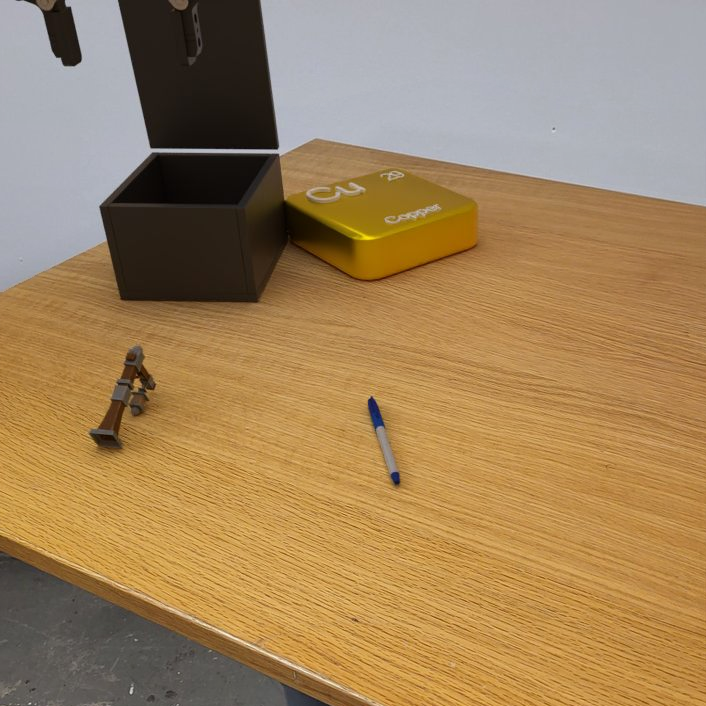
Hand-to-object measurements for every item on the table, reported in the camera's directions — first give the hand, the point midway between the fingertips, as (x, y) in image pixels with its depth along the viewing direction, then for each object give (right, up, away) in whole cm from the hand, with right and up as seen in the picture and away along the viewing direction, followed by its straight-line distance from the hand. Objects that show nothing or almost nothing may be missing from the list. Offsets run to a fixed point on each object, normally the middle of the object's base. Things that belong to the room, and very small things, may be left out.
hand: (130, 63), depth 68 cm
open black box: (0, -11, +22) cm, 24 cm away
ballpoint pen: (+19, -28, -2) cm, 34 cm away
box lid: (0, +7, +17) cm, 19 cm away
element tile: (+17, -7, +27) cm, 32 cm away
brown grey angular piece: (0, -26, 0) cm, 26 cm away
